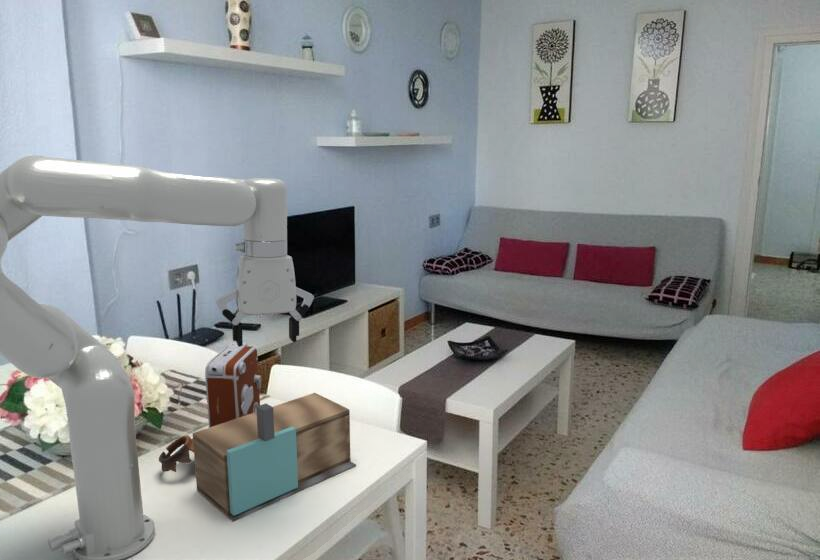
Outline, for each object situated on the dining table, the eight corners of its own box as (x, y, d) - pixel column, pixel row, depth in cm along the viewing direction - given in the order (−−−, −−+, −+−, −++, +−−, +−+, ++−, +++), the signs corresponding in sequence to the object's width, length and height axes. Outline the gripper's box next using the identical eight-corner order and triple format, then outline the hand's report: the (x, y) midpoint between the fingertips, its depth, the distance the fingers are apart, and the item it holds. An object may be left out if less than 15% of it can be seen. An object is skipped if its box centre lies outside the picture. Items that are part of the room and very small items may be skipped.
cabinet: (232, 521, 112) (228, 459, 109) (196, 490, 122) (192, 433, 119) (355, 466, 131) (355, 412, 128) (316, 443, 141) (314, 392, 138)
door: (235, 517, 112) (229, 421, 108) (228, 511, 114) (222, 417, 110) (299, 488, 121) (296, 399, 117) (292, 483, 123) (289, 395, 119)
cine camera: (273, 414, 155) (269, 336, 151) (245, 452, 137) (240, 364, 132) (237, 412, 156) (232, 334, 152) (204, 450, 137) (198, 362, 133)
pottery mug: (205, 487, 124) (179, 456, 121) (170, 498, 127) (145, 469, 125) (231, 445, 134) (208, 416, 132) (199, 456, 138) (176, 428, 135)
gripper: (216, 254, 105) (219, 352, 109) (318, 251, 112) (318, 344, 115) (212, 247, 112) (214, 340, 115) (308, 244, 119) (308, 332, 122)
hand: (266, 342), depth 115 cm, fingers open, 9 cm apart
